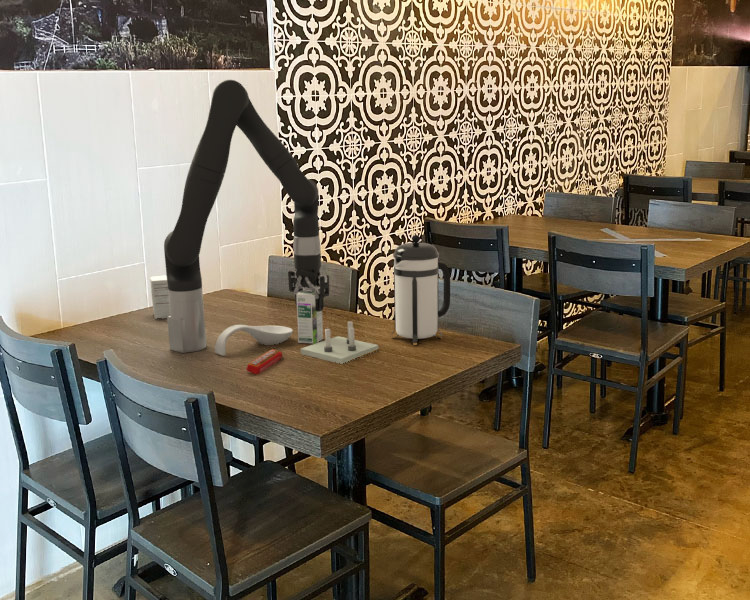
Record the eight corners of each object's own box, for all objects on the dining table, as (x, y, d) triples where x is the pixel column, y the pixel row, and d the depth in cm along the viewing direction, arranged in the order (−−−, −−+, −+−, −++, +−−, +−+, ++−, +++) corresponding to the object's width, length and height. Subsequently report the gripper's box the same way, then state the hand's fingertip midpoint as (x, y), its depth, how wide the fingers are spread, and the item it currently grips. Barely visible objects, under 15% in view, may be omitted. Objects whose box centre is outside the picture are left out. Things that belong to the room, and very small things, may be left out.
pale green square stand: (341, 364, 215) (340, 336, 213) (300, 354, 224) (299, 327, 222) (378, 350, 226) (378, 323, 224) (338, 341, 235) (337, 315, 233)
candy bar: (257, 377, 207) (256, 365, 206) (244, 375, 208) (243, 364, 207) (285, 358, 222) (284, 347, 221) (273, 357, 223) (272, 346, 222)
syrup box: (297, 343, 234) (295, 293, 231) (305, 337, 239) (303, 288, 236) (316, 344, 232) (314, 294, 229) (323, 338, 238) (322, 289, 234)
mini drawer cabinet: (153, 314, 270) (149, 276, 267) (176, 311, 272) (173, 274, 269) (154, 319, 263) (150, 280, 260) (177, 317, 265) (174, 278, 262)
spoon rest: (277, 334, 244) (275, 310, 243) (301, 342, 236) (300, 317, 234) (207, 351, 229) (206, 326, 227) (231, 360, 221) (229, 334, 219)
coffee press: (443, 347, 227) (443, 239, 220) (386, 345, 230) (384, 239, 223) (450, 330, 244) (450, 229, 237) (397, 328, 247) (395, 229, 240)
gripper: (279, 251, 232) (282, 308, 235) (316, 256, 223) (318, 315, 226) (298, 247, 237) (301, 302, 241) (335, 252, 228) (337, 309, 232)
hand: (309, 308), depth 234 cm, fingers closed on syrup box, 7 cm apart
